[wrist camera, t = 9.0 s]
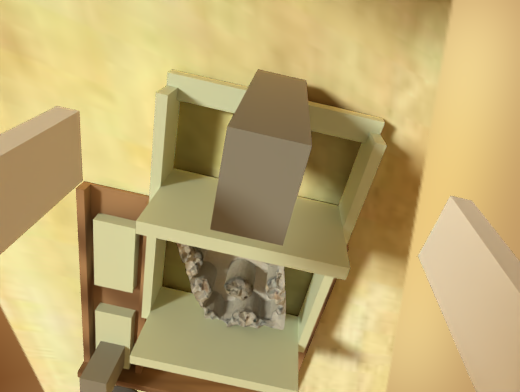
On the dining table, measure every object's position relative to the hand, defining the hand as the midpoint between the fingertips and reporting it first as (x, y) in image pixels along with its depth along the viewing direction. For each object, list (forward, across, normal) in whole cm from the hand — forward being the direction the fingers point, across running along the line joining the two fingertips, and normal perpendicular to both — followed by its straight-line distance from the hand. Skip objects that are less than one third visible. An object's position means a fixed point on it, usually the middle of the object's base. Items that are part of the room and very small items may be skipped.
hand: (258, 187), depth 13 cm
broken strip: (+12, -10, -22) cm, 27 cm away
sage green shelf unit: (+12, 0, -9) cm, 15 cm away
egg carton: (+12, 0, -13) cm, 18 cm away
